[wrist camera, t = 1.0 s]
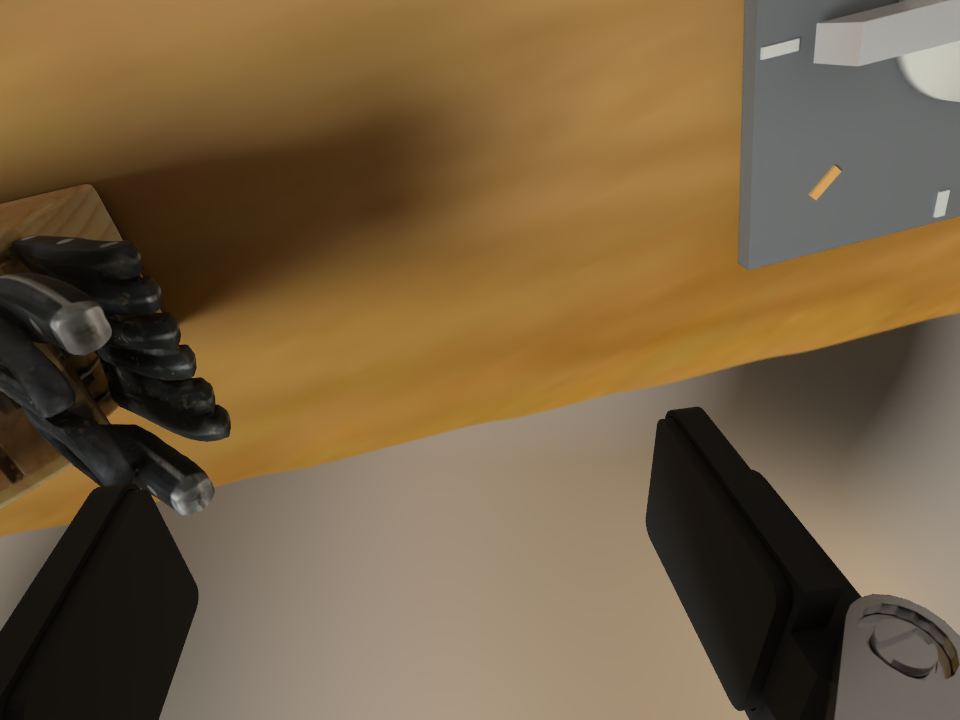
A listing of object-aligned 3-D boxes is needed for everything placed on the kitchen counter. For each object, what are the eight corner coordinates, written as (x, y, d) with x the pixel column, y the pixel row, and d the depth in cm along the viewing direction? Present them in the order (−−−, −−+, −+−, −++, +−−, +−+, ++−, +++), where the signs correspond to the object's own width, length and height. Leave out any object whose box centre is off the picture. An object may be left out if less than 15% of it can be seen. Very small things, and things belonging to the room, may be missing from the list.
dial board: (748, -164, 32) (766, -174, 30) (1164, -271, 32) (1202, -286, 30) (738, 263, 45) (750, 271, 43) (1030, 188, 45) (1052, 193, 43)
